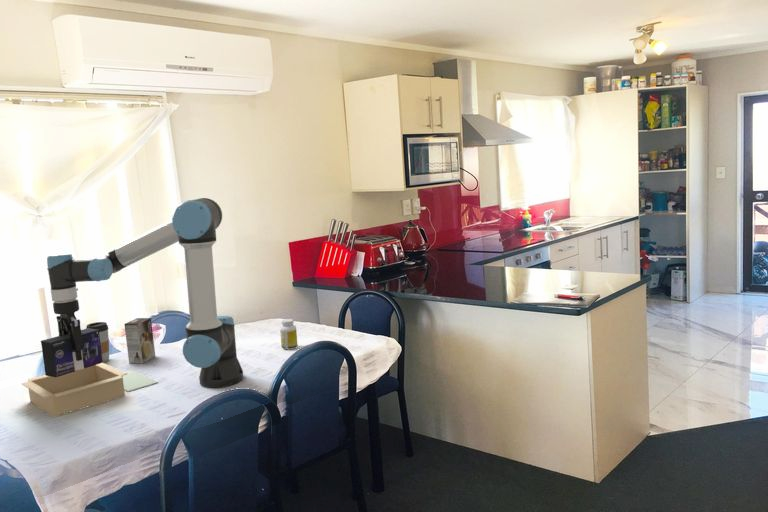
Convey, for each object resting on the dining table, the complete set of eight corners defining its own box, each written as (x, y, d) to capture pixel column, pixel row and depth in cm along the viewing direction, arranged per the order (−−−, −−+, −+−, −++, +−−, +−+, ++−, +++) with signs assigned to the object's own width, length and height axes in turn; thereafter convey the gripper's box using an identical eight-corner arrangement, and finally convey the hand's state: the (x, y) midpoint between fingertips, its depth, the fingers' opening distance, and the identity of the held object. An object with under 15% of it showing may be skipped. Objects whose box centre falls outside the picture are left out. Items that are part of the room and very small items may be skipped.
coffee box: (141, 356, 262) (137, 317, 259) (155, 356, 260) (151, 317, 258) (128, 363, 253) (123, 323, 250) (143, 363, 251) (138, 323, 249)
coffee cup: (84, 363, 255) (80, 326, 253) (101, 356, 263) (96, 321, 261) (100, 364, 252) (96, 327, 250) (116, 358, 260) (112, 322, 257)
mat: (158, 382, 228) (158, 381, 228) (128, 392, 220) (127, 390, 220) (131, 371, 243) (131, 370, 242) (102, 379, 235) (101, 378, 235)
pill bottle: (300, 346, 264) (299, 319, 262) (290, 351, 259) (288, 323, 257) (288, 344, 268) (286, 317, 266) (278, 349, 262) (276, 321, 260)
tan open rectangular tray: (133, 395, 217) (131, 375, 216) (49, 420, 198) (47, 399, 197) (101, 379, 235) (98, 361, 234) (21, 401, 216) (19, 381, 215)
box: (56, 378, 206) (50, 342, 204) (45, 376, 210) (39, 340, 208) (104, 362, 220) (98, 328, 218) (92, 361, 224) (87, 327, 222)
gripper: (89, 301, 207) (98, 369, 211) (65, 294, 221) (74, 359, 224) (65, 306, 202) (75, 376, 205) (42, 299, 215) (51, 365, 219)
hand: (74, 367), depth 215 cm, fingers closed on box, 7 cm apart
